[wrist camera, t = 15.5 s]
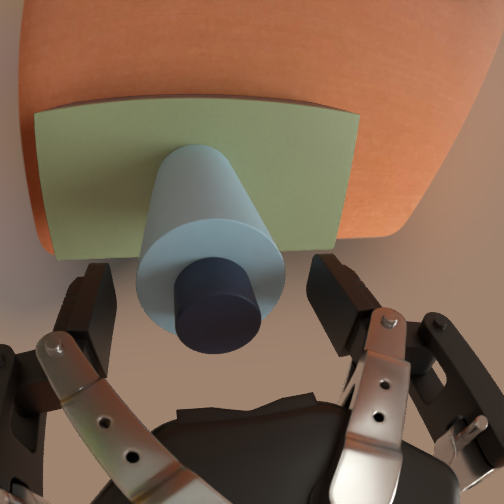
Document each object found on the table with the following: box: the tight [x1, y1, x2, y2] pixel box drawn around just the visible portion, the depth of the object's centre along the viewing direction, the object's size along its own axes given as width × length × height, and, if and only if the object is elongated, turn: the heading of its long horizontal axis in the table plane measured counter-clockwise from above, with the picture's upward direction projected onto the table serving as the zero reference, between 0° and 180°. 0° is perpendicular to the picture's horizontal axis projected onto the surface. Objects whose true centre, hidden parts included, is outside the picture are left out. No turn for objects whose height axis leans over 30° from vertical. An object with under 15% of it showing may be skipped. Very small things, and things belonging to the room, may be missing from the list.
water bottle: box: [136, 144, 285, 354], centre depth 15 cm, size 6×6×14 cm
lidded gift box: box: [34, 94, 360, 260], centre depth 25 cm, size 24×12×8 cm, turn 85°
